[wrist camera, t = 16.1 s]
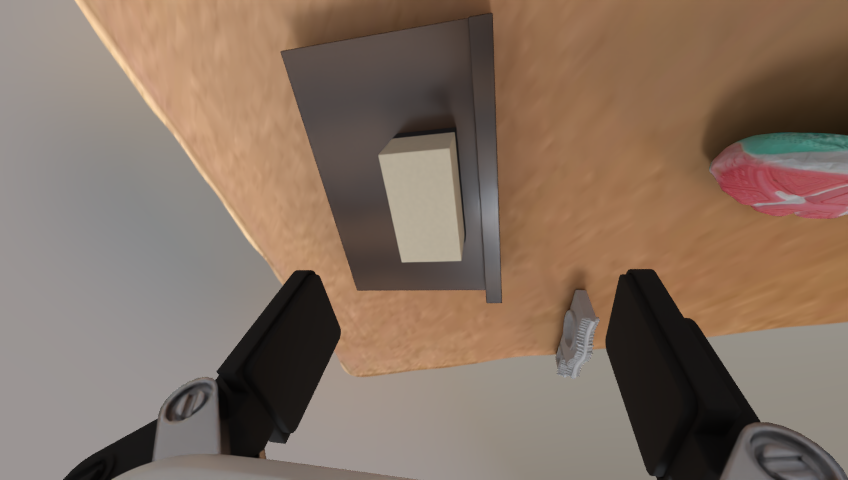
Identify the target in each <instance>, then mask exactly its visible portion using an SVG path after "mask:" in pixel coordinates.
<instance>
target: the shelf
mask: <svg viewBox="0 0 848 480" xmlns="http://www.w3.org/2000/svg"><path fill="white" fill-rule="evenodd" d="M281 55H282V58H283V61H284V64H285V67H286V70H287V74H288V77H289V80H290V83H291V86H292V89H293V92H294V95H295V98H296V102H297V105H298V108H299V111H300V114H301V117H302V120H303V123H304V126H305V129H306V133H307V136H308V139H309V142H310V145H311V148H312V151H313V154H314V157H315V161H316V164H317V167H318V170H319V173H320V176H321V179H322V182H323V185H324V189H325V192H326V195H327V198H328V201H329V204H330V207H331V210H332V213H333V217H334V220H335V223H336V226H337V229H338V232H339V235H340V238H341V241H342V244H343V248H344V251H345V254H346V257H347V260H348V263H349V266H350V269H351V272H352V276H353V279H354V282H355V285H356V288H357V290H358V291H363V290H486V302H487V303H502V289H501V258H500V228H499V197H498V166H497V135H496V105H495V74H494V43H493V14H492V13H488V14H482V15H477V16H471V17H469V18H465V19H459V20H453V21H448V22H442V23H437V24H431V25H425V26H420V27H414V28H408V29H403V30H397V31H391V32H386V33H380V34H375V35H369V36H363V37H358V38H352V39H346V40H341V41H335V42H330V43H324V44H318V45H313V46H307V47H301V48H296V49H290V50H285V51H281ZM452 127H456V129H457V140H458V151H459V162H460V172H461V183H462V194H463V205H464V216H465V227H466V240H465V243H464V244H463V252H462V260H461V261H440V262H402V261H401V257H400V252H399V248H398V243H397V239H396V234H395V229H394V225H393V220H392V216H391V211H390V207H389V202H388V197H387V193H386V188H385V184H384V179H383V175H382V170H381V166H380V161H379V156H378V155H379V153H380V152H381V151H382V150H383V149H384V148H385V146H386V145H387V144H388V143H389V142H390V141H391V139H392V138H393V137H394V136H395V135H396V134H397V133H406V132H416V131H425V130H434V129H443V128H452Z"/></svg>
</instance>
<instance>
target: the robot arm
mask: <svg viewBox="0 0 848 480" xmlns="http://www.w3.org/2000/svg"><path fill="white" fill-rule="evenodd" d="M340 335H341V329H340V326H339V324H338V321H337V319H336V316H335V313H334V311H333V308H332V306H331V303H330V301H329V298H328V296H327V293H326V291H325V288H324V286H323V283H322V281H321V278H320V276H319V275H316V274H315V272H314V271H312V270H297V271H295V272H293V274H292V275H291V276H290V277H289V279H288V280H287V281H286V283H285V284H284V285H283V287H282V288H281V289H280V290H279V292H278V293H277V294H276V295H275V297H274V298H273V299H272V301H271V302H270V303H269V305H268V306H267V307H266V308H265V310H264V311H263V312H262V314H261V315H260V316H259V317H258V319H257V320H256V321H255V323H254V324H253V325H252V326H251V328H250V329H249V330H248V332H247V333H246V334H245V335H244V337H243V338H242V340H241V341H240V342H239V343H238V345H237V346H236V347H235V348H234V350H233V351H232V352H231V354H230V355H229V356H228V357H227V359H226V360H225V361H224V363H223V364H222V365H221V367H220V368H219V369H218V370H217V373H218V374H219V376H218V377H217V379H216V380H214V379H213V378H209V377H202V378H197V379H194V380H192V381H189V382H187V383H186V384H184V385H182V386H181V387H179V388H178V389H177V390H176V391H174V392H173V393H172V394H171V395H170V396H169V397H168V398H167V399H166V401H165V402H164V404H163V406H162V407H161V409H160V412H159V415H158V419H156V420H154V421H153V422H151V423H149V424H147V425H145V426H144V427H142V428H140V429H138V430H136V431H135V432H133V433H131V434H129V435H127V436H125V437H124V438H122V439H120V440H118V441H116V442H115V443H113V444H111V445H109V446H107V447H105V448H104V449H102V450H100V451H98V452H96V453H95V454H93V455H91V456H90V457H88V458H87V459H85V460H84V461H82V462H81V463H80V464H79V465H77V466H76V467H75V468H74V469H73V470H72V471H71V472H70V473H69V474H68V475H67V476H66V477H65V478H64V479H63V480H416V479H409V478H402V477H395V476H388V475H380V474H373V473H366V472H358V471H351V470H344V469H336V468H329V467H321V466H313V465H306V464H298V463H291V462H284V461H277V460H268V459H266V456H265V449H264V448H265V446H266V444H267V442H268V440H269V441H270V442H276V443H284V444H285V443H286V442H287V440H288V438H289V436H290V434H291V433H293V432H294V431H295V430H296V429H297V427H298V425H299V423H300V421H301V419H302V417H303V414H304V412H305V410H306V408H307V406H308V404H309V402H310V400H311V398H312V395H313V393H314V391H315V389H316V387H317V385H318V383H319V381H320V379H321V377H322V375H323V372H324V370H325V368H326V366H327V364H328V362H329V360H330V358H331V355H332V354H333V351H334V349H335V347H336V345H337V343H338V341H339V339H340ZM606 350H607V353H608V356H609V359H610V362H611V365H612V368H613V371H614V374H615V377H616V380H617V383H618V386H619V389H620V392H621V395H622V398H623V401H624V404H625V407H626V410H627V413H628V416H629V419H630V422H631V425H632V428H633V431H634V434H635V437H636V440H637V443H638V446H639V449H640V452H641V455H642V458H643V461H644V464H645V467H646V470H647V472H648V473H649V475H651V476H656V478H657V480H848V478H847V476H846V474H845V472H844V470H843V469H842V468H841V467H840V465H839V464H838V463H837V462H836V461H835V459H834V458H833V457H832V456H831V455H830V454H829V453H827V452H826V451H825V450H824V449H823V448H821V447H820V446H819V445H818V444H817V443H815V442H813V441H812V440H810V439H809V438H807V437H805V436H804V435H802V434H800V433H798V432H796V431H794V430H791V429H789V428H786V427H784V426H781V425H777V424H773V423H767V422H765V423H764V422H760V420H759V419H758V417H757V416H756V414H755V412H754V411H753V409H752V408H751V407H750V405H749V403H748V402H747V400H746V399H745V397H744V395H743V394H742V392H741V391H740V389H739V388H738V386H737V385H736V383H735V382H734V380H733V379H732V377H731V376H730V374H729V372H728V371H727V369H726V368H725V366H724V365H723V363H722V362H721V360H720V359H719V357H718V356H717V354H716V353H715V351H714V349H713V348H712V346H711V345H710V343H709V342H708V340H707V339H706V337H705V336H704V334H703V333H702V331H701V329H700V328H699V326H698V325H697V324H696V323H695V322H694V321H693V320H692V319H690V318H684V317H683V316H682V314H681V312H680V311H679V309H678V308H677V306H676V304H675V303H674V301H673V299H672V298H671V296H670V295H669V293H668V291H667V290H666V288H665V287H664V285H663V283H662V282H661V280H660V279H659V277H658V275H657V274H656V272H655V271H654V270H652V269H630V270H628V271H627V273H626V274H622V275H620V277H619V281H618V285H617V290H616V294H615V299H614V303H613V308H612V312H611V317H610V321H609V326H608V330H607V335H606Z"/></svg>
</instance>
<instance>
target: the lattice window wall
mask: <svg viewBox="0 0 848 480" xmlns="http://www.w3.org/2000/svg"><path fill="white" fill-rule="evenodd" d="M598 321H600V320H599V317H596V316H595V313H594V310H593V308H592V305H591V302H590V300H589V297H588V294H587V291H586V290H575V294H574V297H573V301H572V304H571V307H570V310H568V311H567V312H566V314H565V318H564V325H563V335H562V338H561V342H560V344H559V348H558V351H557V354H556V362H557V367H558V370H559V371H558V373H557V374H558V375H561V376H563V377H566V376H570V377H571V378H572V379H575V377H576V376H579V374H580V372H579V371H581V370H580V369H581V367H582V365H583V364H584V363H585V362H586V361H589V360H590V359H591V357H590V356H592V355H591V354H593V352H592V350H593V349H592V347H593V346H594V345H592V343H593V342H592V340H593V336H594V335H593V334H594V333H595V332H594V330H596V329H595V328H596V326H597V324H598Z"/></svg>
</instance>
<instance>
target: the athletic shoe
mask: <svg viewBox="0 0 848 480" xmlns="http://www.w3.org/2000/svg"><path fill="white" fill-rule="evenodd" d="M709 171H710V172H711V173H712V174H713V175H714V176H715V179H716V180H717V182H718V184H719V185H720V187H721V189H722V190H723V191H725V192H726V193H728V194H729V195H730V196H732V197H733V198H734V199H736V200H737V201H738V202H740V203H741V204H745V205H751V207H753V208H754V209H755V210H756V211H759V212H762V213H765V214H769V215H772V216H785V215H788V214H792V213H794V214H796V215H797V216H800V217H804V218H827V219H830V218H837V217H840V216H842V215H845V214H848V135H839V134H826V133H794V132H778V133H770V134H762V135H754V136H751V137H747V138H744V139H742V140H740V141H737V142H735V143H733V144H731V145H730V146H728V147H726V148H725V149H724V150H723V151H722V152H721V153H720V154H719V155H718V156H717V157H716V158H715V159H714V160H713V161H712V163H711V165H710V169H709Z"/></svg>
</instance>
